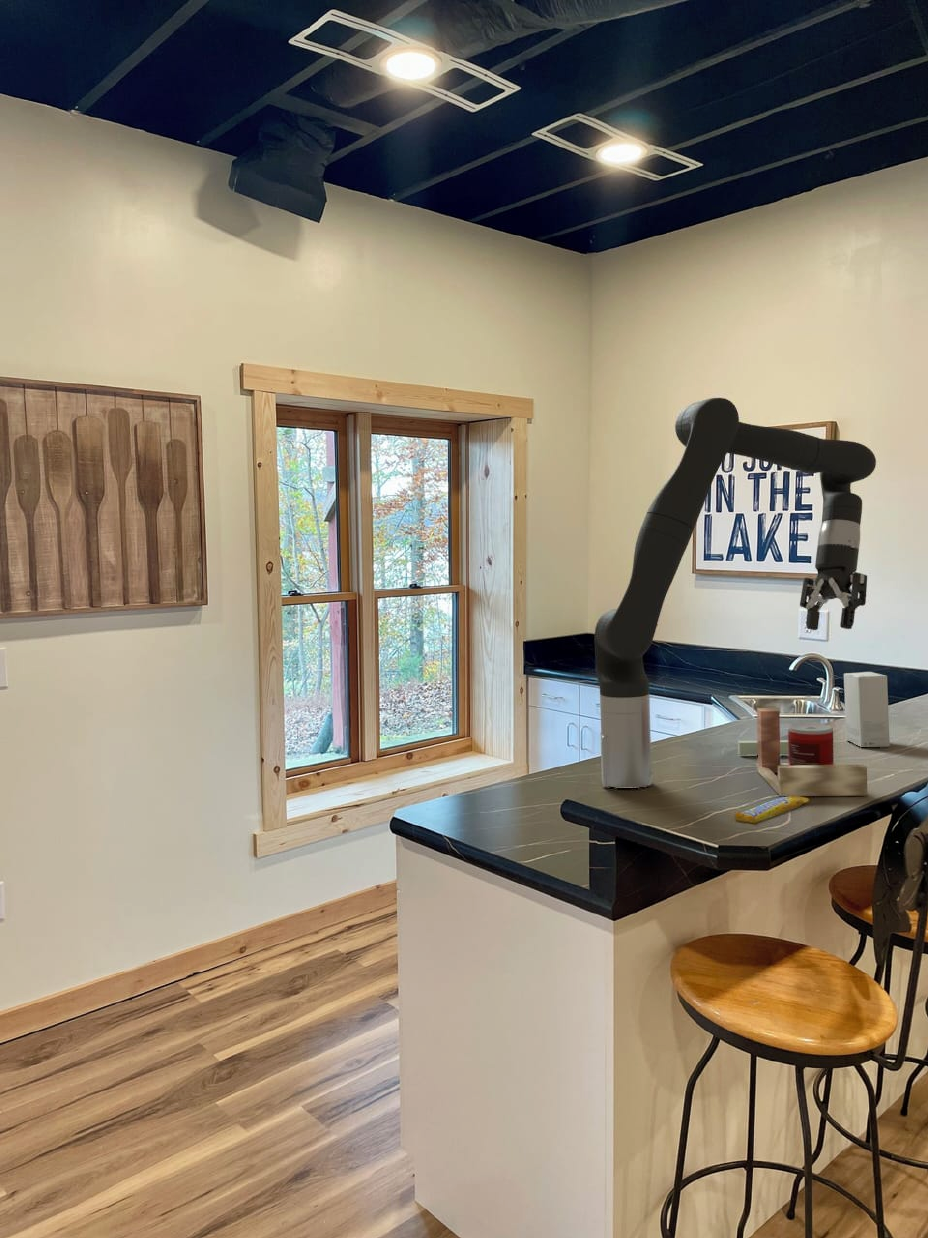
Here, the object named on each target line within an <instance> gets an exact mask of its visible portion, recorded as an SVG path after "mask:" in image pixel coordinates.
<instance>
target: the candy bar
mask: <svg viewBox="0 0 928 1238" xmlns="http://www.w3.org/2000/svg"><path fill="white" fill-rule="evenodd" d="M809 801H810V799H809V797H806V796H791V795H787V796H780V797H779V798H776V799H773V800H770V801H766V802H765V803H762V804H759V805H757V806H754V807H752V808H749V809H748V810H744V811H742V812H739V811H738V810H737V811H735V813H734V816H733V818H734V819H735V820H736V821H737V822H745V823H750V824H756V823H759V822H761V821H764V820H767V819H770V818H772V817H776V816H778V815H781V814H784V813H786V812H789V811H791V810H794V809H797V808H798V807H801V806H802V805H803V804H805V803H808V802H809Z"/></svg>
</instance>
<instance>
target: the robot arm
mask: <svg viewBox="0 0 928 1238" xmlns="http://www.w3.org/2000/svg"><path fill="white" fill-rule="evenodd" d="M676 417H677V418H676V420H675V424H674V431H675V434H676V437H677V439H678V440H679V442H680V443H681V444H682V445H683V446H684V447H685V449H684V452H683V455H682V457H681V459H680V461H679V464H678V465H677V466H676V469H675V470H674V471H673V472H672V474H671V476H670V477H668V480H666V482H665V484H663V486H662V487H661V489H660V490H658V493H657V494H656V496H655V497H654V498H653V500H652V502H651V504H650V505H649V507H648V510H647V511H646V514H645V517H644V519H643V521H642V524H641V526H640V529H639V532H638V535H637V538H636V542H635V546H634V554H633V563H632V571H631V574H630V575H631V576H630V580H629V584H628V585H627V588H626V590H625V592H624V595H623V597H622V600H621V601H620V603H619V605H618V607H617V608H613V609H609V610H608V611H606V612H604V613H603V614H602V615H601V616H600V617H599V618H598V620H597V622H596V625H595V628H594V629H595V630H594V654H595V655H594V657H595V671H596V679H597V681H598V685H599V698H600V699H599V702H600V703H599V704H600V708H599V709H600V730H601V731H600V756H601V757H600V758H601V759H600V760H601V761H600V762H601V783H602V787H603V788H607V787H606V786H613V787H633V788H634V787H636V788H637V787H644V788H647V786H648V787H649V786H651V785H652V783H653V782H652V775H653V771H652V745H651V744H652V743H651V742H652V740H651V739H652V738H651V737H652V736H651V706H650V705H651V704H650V703H651V701H650V699H651V697H650V681H649V678H648V677H647V674H646V671H645V668H644V662H643V660H644V659H643V656H644V654H645V653H646V652H647V651H648V650H649V648H650V647H651V645H652V643H653V641H654V640H653V639H654V638H655V634H656V630H657V626H658V622H659V619H660V616H661V613H662V609H663V605H664V603H665V600H666V596H667V594H668V591H669V589H670V587H671V585H672V582H673V580H674V578H675V576H676V574H677V571H678V569H679V567H680V564H681V561H682V559H683V556H684V554H685V552H686V550H687V548H688V545H689V543H690V540H691V538H692V536H693V533H694V531H695V528H696V525H697V522H698V519H699V517H700V515H701V511H702V509H703V507H704V504H705V502H706V499H707V497H708V494H709V491H710V489H711V486H712V484H713V482H714V480H715V477H716V475H717V473H718V471H719V469H720V467H721V465H722V463H723V461H724V459H725V457H726V455H727V454H731V455H736V456H742V457H745V458H750V459H755V460H759V461H762V462H765V463H769V464H771V465H772V464H773V465H777V466H779V467H783V468H787V469H790V470H793V471H797V472H800V473H806V474H817V473H818V474H819V479H820V486H821V496H822V500H823V508H822V516H821V525H820V529H819V532H818V540H817V547H816V554H815V555H816V556H815V565H814V568H815V569H816V571H817V575H816V577H815V578H810V577H807V576H806V577H805V578H804V579H803V583H802V589H801V595H800V601H799V607H801V608H804V609H806V610H807V613H806V620H805V624H806V629H808V630H811V631H817V630H818V629H819V622H820V613H821V611H820V610H821V609H822V607H823V606H824V604H827V603H828V602H829V600H834V599H839V600H840V602H841V604H842V606H843V607H841V615H840V628H841V629H845V630H852V629H853V626H854V622H855V613H856V609H857V608H858V607H860V606H861V607H864V606H865V605H866V601H867V587H868V575H867V574H864V573H861V572H857V570H858V560H859V552H860V544H861V523H862V514H863V500H862V498H861V497H860V495H858V494H856V493H852V490H851V486H852V485H851V484H852V483H854V482H855V483H856V482H860V481H862V480H864V479H866V478H868V477H869V476H870V475H872V473H874V471H875V469H876V465H877V459H876V456H875V454H874V452H873V451H872V450H871V449H870V448H869V447H868V446H866V445H864V444H862V443H859V442H856V441H849V440H843V439H842V440H839V439H826V438H820V437H817V436H814V435H810V434H806V433H803V432H799V431H797V430H796V431H795V430H792V429H787V428H778V427H771V426H762V425H757V424H756V425H755V424H752V423H751V424H750V423H746V422H742V421H740V417H739V412H738V408H737V407H736V406H735V404H734V403H733V402H732V401H731V400H729V399H728V398H725V397H712V398H708V399H704V400H701V401H697V402H696V401H695V402H693V403H691V404H690V405H687V406H685V408H683V409H682V410H681V411H680V412H679V413H678V415H677V416H676Z"/></svg>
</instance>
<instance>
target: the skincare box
mask: <svg viewBox="0 0 928 1238" xmlns="http://www.w3.org/2000/svg"><path fill="white" fill-rule="evenodd" d="M843 688H844V690H843V691H844V692H843V693H844V710H845V711H844V713H845V736H846V738H847V739H848V740H850V741H851V742H853V743H855V744H856V745H858V746H860V747H859V748H861V747H880V748H889V747H890V746H891V744H890V743H891V742H890V720H889V719H890V718H889V717H890V716H889V695H888V694H889V692H888V689H889V688H888V675H884V674H881V673H878V672H877V673H876V672H873V671H862V672H861V671H860V672H850V673H849V672H848V673H847V672H845V673H843ZM846 738H845V739H846ZM856 745H855V746H856ZM858 746H857V747H858Z"/></svg>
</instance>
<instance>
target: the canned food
mask: <svg viewBox="0 0 928 1238" xmlns="http://www.w3.org/2000/svg"><path fill="white" fill-rule="evenodd" d="M833 729H834V727H833V726H832V725H828V724H826V723H817V722H798V723H792V724H789V725H788V728H787V735H788V737H787V740H788V752H789V756H788V763H789V766H800V765H834V764H835V762H834V730H833Z"/></svg>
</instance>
